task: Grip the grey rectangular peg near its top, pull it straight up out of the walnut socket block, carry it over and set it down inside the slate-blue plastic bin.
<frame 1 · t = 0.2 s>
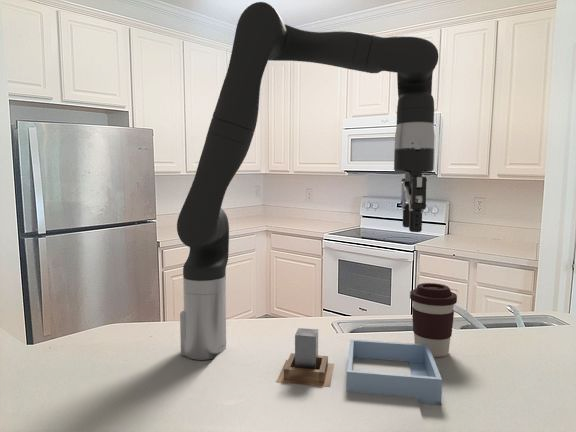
hand: (411, 229, 83), 29 cm above the countertop, fingers open, 8 cm apart
coffee cup: (431, 352, 94), on the countertop
socket block: (306, 377, 81), on the countertop
grey rectangular peg: (306, 372, 81), point 1 cm above the countertop, touching socket block
bin: (390, 379, 80), on the countertop
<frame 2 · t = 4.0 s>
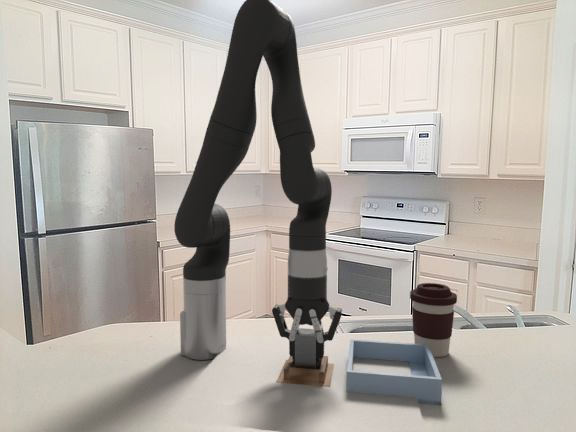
hand: (306, 358, 81), 4 cm above the countertop, fingers closed on grey rectangular peg, 4 cm apart
grey rectangular peg: (306, 372, 81), point 1 cm above the countertop, touching gripper, socket block
everything else where it was.
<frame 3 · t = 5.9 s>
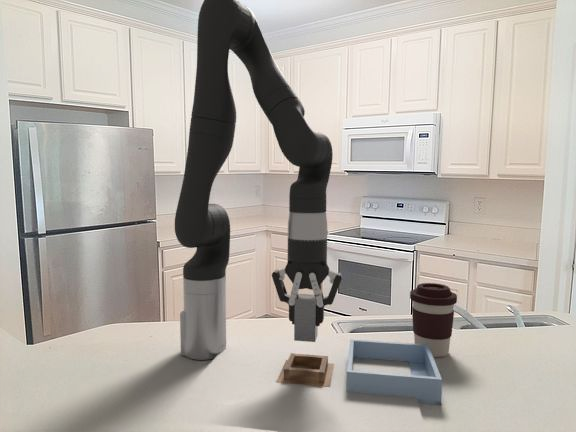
hand: (306, 323, 81), 11 cm above the countertop, fingers closed on grey rectangular peg, 4 cm apart
grey rectangular peg: (306, 337, 81), point 8 cm above the countertop, touching gripper
everything else where it was.
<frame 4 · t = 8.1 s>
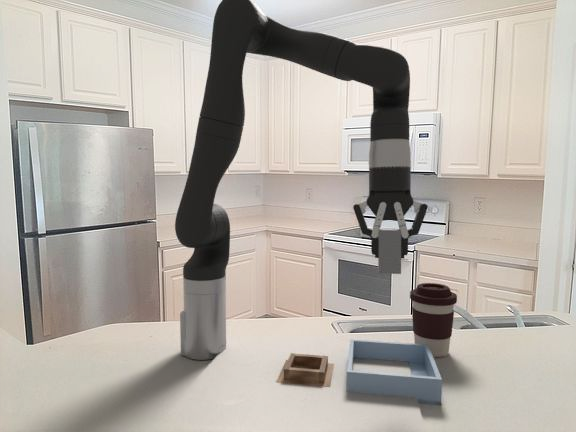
hand: (389, 257, 78), 24 cm above the countertop, fingers closed on grey rectangular peg, 4 cm apart
grey rectangular peg: (389, 271, 79), point 21 cm above the countertop, touching gripper
everything else where it was.
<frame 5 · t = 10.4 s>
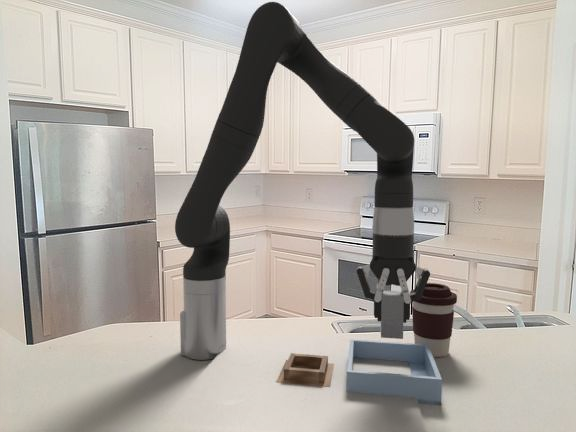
hand: (391, 320, 79), 12 cm above the countertop, fingers closed on grey rectangular peg, 4 cm apart
grey rectangular peg: (391, 334, 80), point 9 cm above the countertop, touching gripper
everything else where it was.
when the fingers open (5 cm above the countertop, at t = 12.4 s): grey rectangular peg drops 2 cm, resting on bin.
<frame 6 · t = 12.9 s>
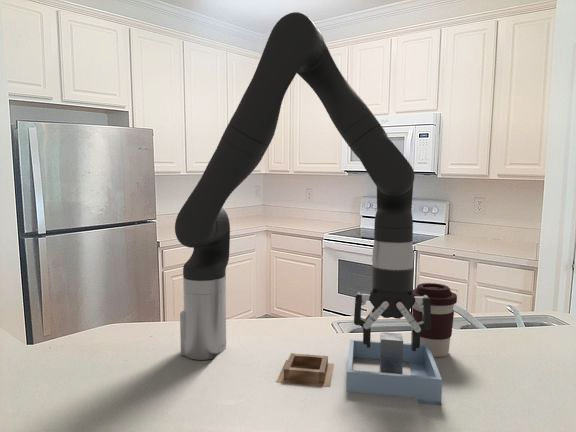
hand: (390, 348, 80), 6 cm above the countertop, fingers open, 8 cm apart
grey rectangular peg: (390, 376, 80), point 1 cm above the countertop, touching bin
everything else where it was.
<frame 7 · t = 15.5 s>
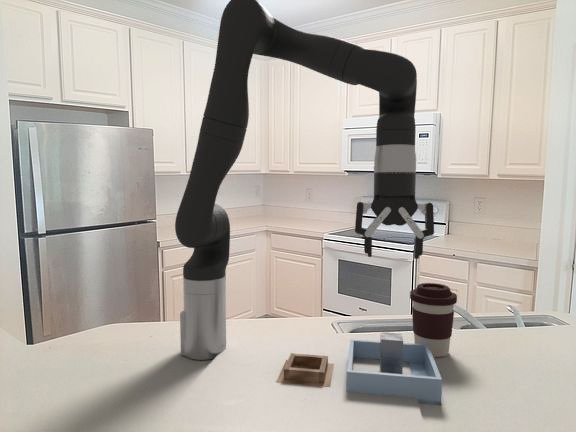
hand: (392, 257, 79), 24 cm above the countertop, fingers open, 8 cm apart
nothing on the countertop moved.
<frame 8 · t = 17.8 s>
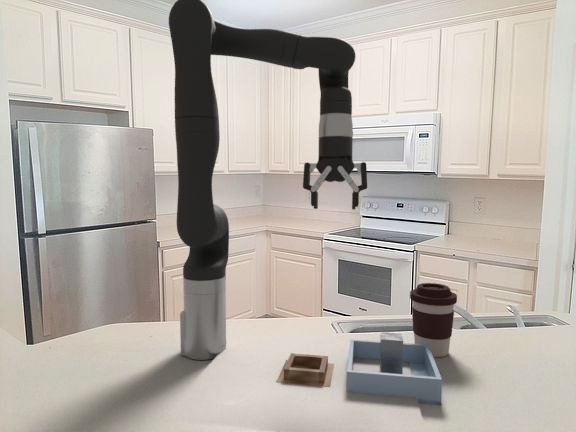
hand: (334, 208, 94), 32 cm above the countertop, fingers open, 8 cm apart
nothing on the countertop moved.
at the end: grey rectangular peg inside the target area on the bin (0.1 cm from its centre), point 0.6 cm above the bin's base; the gripper is holding nothing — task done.
